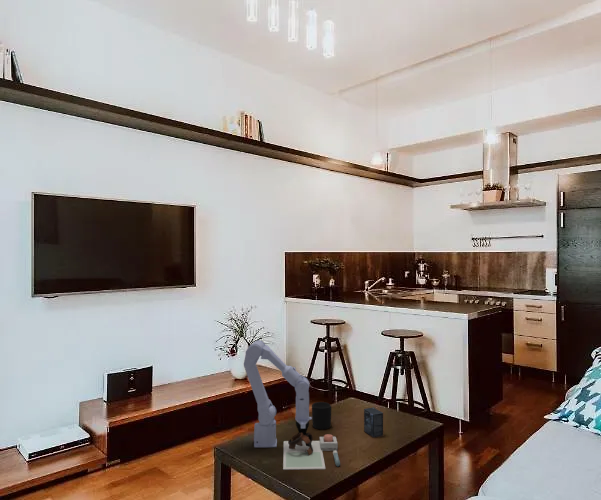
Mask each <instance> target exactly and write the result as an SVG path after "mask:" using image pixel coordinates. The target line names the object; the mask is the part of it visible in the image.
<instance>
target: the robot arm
mask: <svg viewBox="0 0 601 500" xmlns="http://www.w3.org/2000/svg"><path fill="white" fill-rule="evenodd" d="M259 359H260V360H268V361H269V362H270V363H271V364H272V365H274V366H275V367H276V368H277V369H278V370H279V371H280V372H281V376H282V377H283V379H285V380H286V381H287V382H288V383H289V384H290V385H291V386H292V387H294V391H295V418H294V419H295V426H296V428H297V431H298V433H303V435H305V434H306V433H308V432H307V431H308V428H309V427H310V421H312V416H310V392H309V390H310V389H309V388H310V385H311V384H310V381H309V379H308V378H307V377H306V376H304V375H302V374H300V373H299V372H298V371H297V368H296V367H295V366H292V365H287V364H286V363H285V362H284V361H283V360H282V359H281V358H280V357H279V356H278V355H277V354H276V353H275V352H274V350H273V349H271V347H270V346H269V345H267V344H265V342H264V341H262V340H260V339H257V340H255V341H253V342H252V343H251V344H250V345H249V346H248V348H247V349H246V350H245V356H244V360H243V367H244V370H245V372H246V376H247V378H248V381H249V385H250V387H251V389H252V392H253V395H254V398H255V402H256V403H257V404H256V405H257V412H258V416H257V419H258V421H259V422H255V423H254V428H253V429H254V431H253V448H277V444H278V439H277V420H276V419H275V416H276V415H277V408H276V407H275V405H273V403H272V401H271V399H269V396H268V393H267V391H266V388H265V386H264V383H263V382H264V381H263V380H262V377H261V374H260V372H259V368H258V366H257V363H258V361H259Z"/></svg>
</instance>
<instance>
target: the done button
mask: <svg viewBox="0 0 601 500" xmlns="http://www.w3.org/2000/svg"><path fill="white" fill-rule="evenodd" d="M323 437H324V442H333V437H334V435H332V434H331V433H329V434H326V433H325V434H324V435H323Z"/></svg>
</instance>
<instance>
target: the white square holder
mask: <svg viewBox="0 0 601 500" xmlns="http://www.w3.org/2000/svg"><path fill="white" fill-rule="evenodd" d="M319 441H320V447H321V450H322V452H323V451H326V452H329V451H330V452H331V451H332V452H333V451H334V450H336V451H338V441H337V437H336V436H333V442H324V436H319Z"/></svg>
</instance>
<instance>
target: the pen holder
mask: <svg viewBox="0 0 601 500" xmlns="http://www.w3.org/2000/svg"><path fill="white" fill-rule="evenodd" d="M311 417H312V420H311V422H312V427H313V428H314V429H317V430H327V429H328V430H329V428H331V424H332V405H331V404H330V403H328V402H324V401H319V402H318V401H317V402H313V403H312V404H311Z"/></svg>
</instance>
